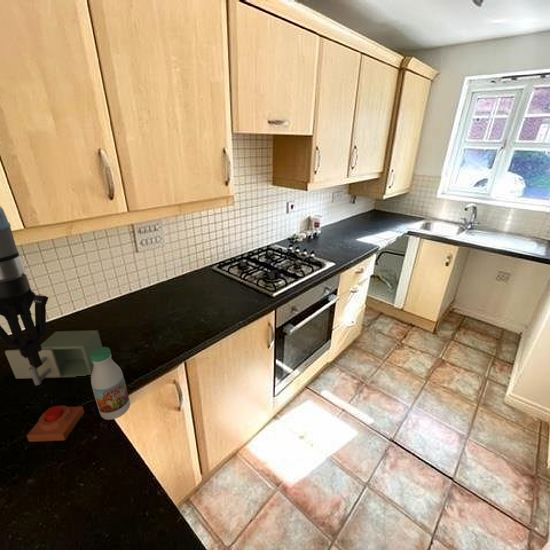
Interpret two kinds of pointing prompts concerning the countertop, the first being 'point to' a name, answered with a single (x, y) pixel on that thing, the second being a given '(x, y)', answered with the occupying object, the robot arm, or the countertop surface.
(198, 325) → the countertop surface
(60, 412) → the button
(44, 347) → the cupboard
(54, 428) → the button box
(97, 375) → the milk bottle
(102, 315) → the countertop surface
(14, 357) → the slide door
